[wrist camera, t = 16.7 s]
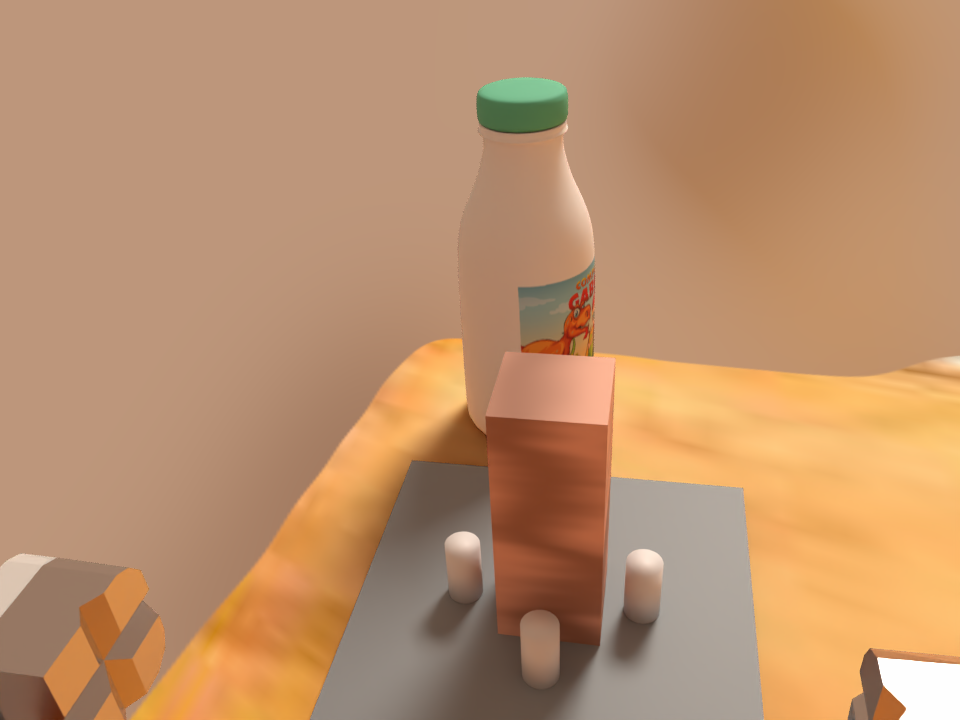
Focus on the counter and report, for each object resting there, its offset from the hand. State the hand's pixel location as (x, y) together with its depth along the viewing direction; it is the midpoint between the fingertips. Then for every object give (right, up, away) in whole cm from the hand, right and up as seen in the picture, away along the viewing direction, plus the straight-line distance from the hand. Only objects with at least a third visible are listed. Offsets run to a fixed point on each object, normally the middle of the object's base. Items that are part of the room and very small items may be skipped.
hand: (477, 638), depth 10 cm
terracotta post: (+3, -8, +30) cm, 32 cm away
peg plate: (+3, -9, +31) cm, 32 cm away
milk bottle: (+3, 0, +45) cm, 45 cm away
